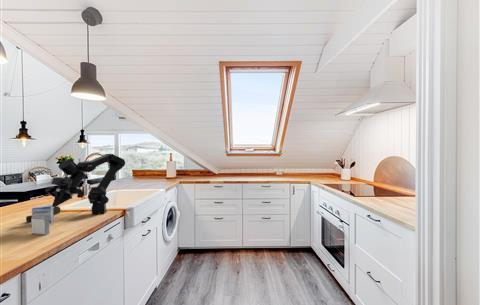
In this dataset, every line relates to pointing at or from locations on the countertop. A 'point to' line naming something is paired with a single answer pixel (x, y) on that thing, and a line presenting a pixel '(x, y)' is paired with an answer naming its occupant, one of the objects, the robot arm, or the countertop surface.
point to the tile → (40, 225)
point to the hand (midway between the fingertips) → (53, 206)
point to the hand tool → (55, 211)
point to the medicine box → (43, 212)
